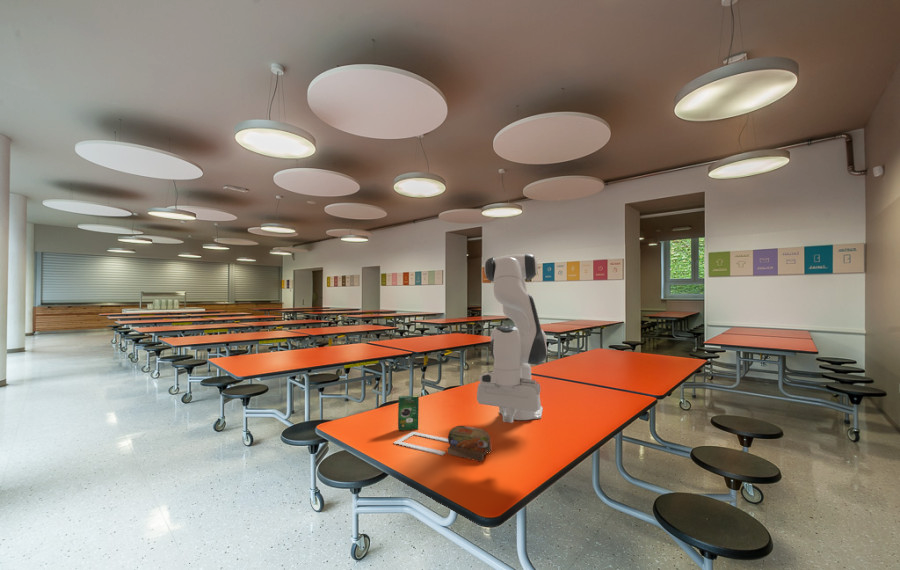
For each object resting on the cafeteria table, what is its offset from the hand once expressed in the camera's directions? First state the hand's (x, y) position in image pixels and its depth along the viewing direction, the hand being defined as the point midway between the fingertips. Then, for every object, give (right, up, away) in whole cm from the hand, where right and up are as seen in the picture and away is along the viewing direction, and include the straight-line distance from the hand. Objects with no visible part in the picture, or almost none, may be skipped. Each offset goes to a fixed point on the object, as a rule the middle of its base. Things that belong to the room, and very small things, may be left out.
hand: (508, 421), depth 109 cm
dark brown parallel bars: (-12, -13, +7) cm, 19 cm away
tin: (-12, -13, +7) cm, 19 cm away
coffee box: (-35, -15, +29) cm, 47 cm away
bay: (-27, -14, +15) cm, 33 cm away
